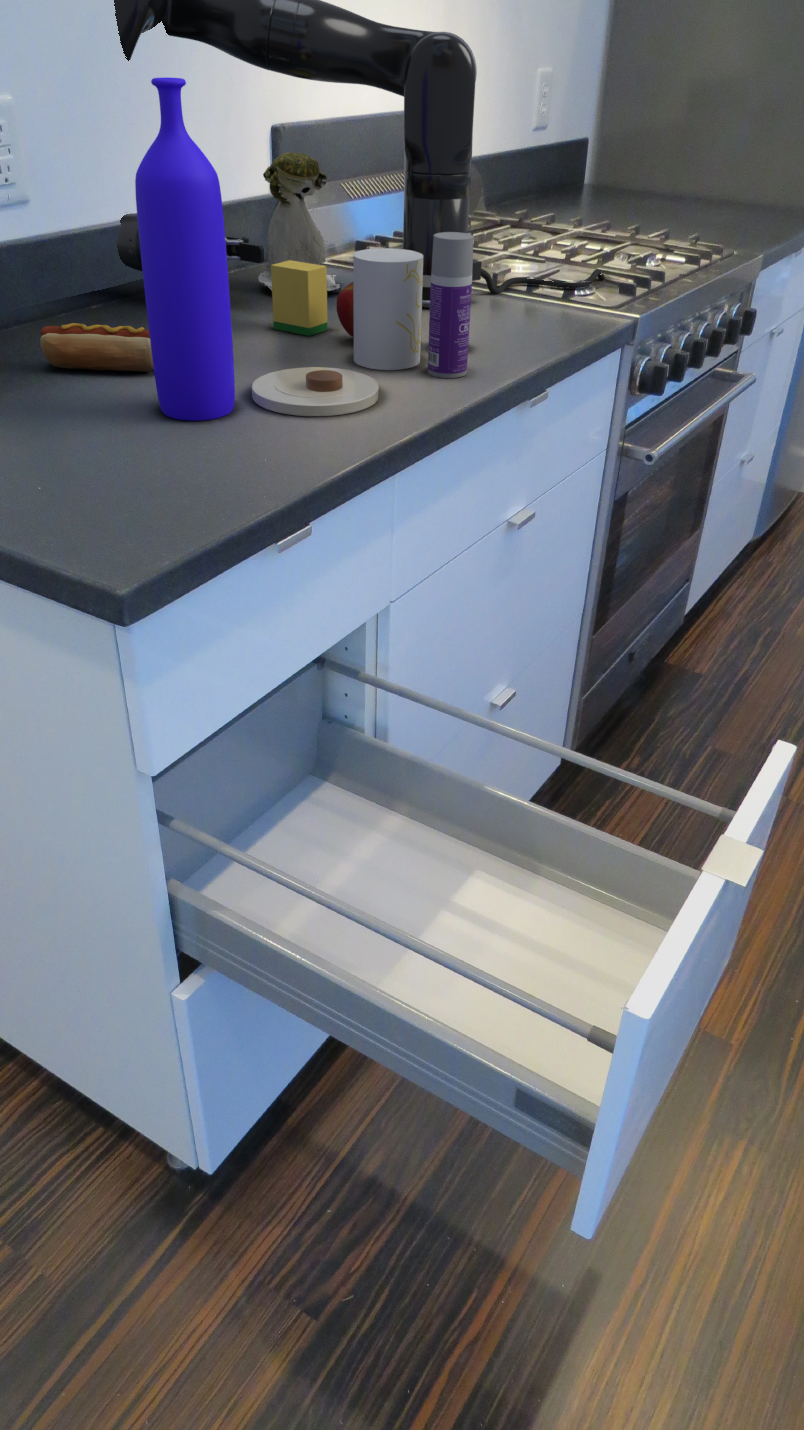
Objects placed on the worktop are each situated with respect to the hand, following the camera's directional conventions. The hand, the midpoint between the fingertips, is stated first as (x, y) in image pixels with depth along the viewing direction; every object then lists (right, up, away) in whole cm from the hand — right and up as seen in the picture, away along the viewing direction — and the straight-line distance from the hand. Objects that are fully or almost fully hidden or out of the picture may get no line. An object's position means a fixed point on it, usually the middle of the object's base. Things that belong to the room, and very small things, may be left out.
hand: (242, 259), depth 137 cm
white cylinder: (+20, -17, -11) cm, 28 cm away
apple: (+17, -13, -4) cm, 22 cm away
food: (-13, -20, -16) cm, 29 cm away
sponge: (+8, -9, 0) cm, 12 cm away
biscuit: (+13, -25, -24) cm, 37 cm away
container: (+27, -20, -15) cm, 36 cm away
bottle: (0, -28, -28) cm, 40 cm away
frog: (+6, +4, +20) cm, 21 cm away
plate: (+12, -25, -23) cm, 36 cm away
